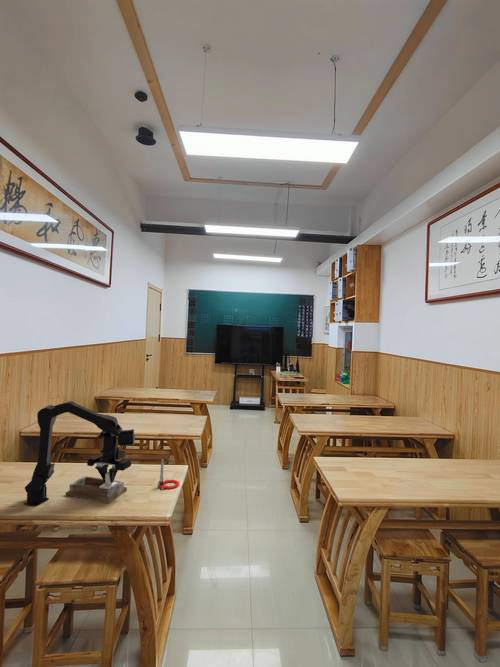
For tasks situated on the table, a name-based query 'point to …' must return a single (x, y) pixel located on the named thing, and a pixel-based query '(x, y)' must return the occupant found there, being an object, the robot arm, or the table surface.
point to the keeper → (108, 482)
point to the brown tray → (95, 490)
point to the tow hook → (166, 480)
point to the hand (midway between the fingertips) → (108, 482)
